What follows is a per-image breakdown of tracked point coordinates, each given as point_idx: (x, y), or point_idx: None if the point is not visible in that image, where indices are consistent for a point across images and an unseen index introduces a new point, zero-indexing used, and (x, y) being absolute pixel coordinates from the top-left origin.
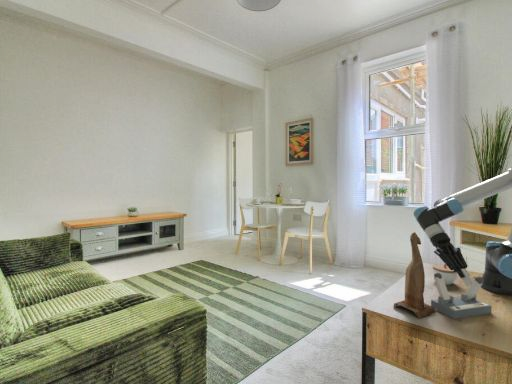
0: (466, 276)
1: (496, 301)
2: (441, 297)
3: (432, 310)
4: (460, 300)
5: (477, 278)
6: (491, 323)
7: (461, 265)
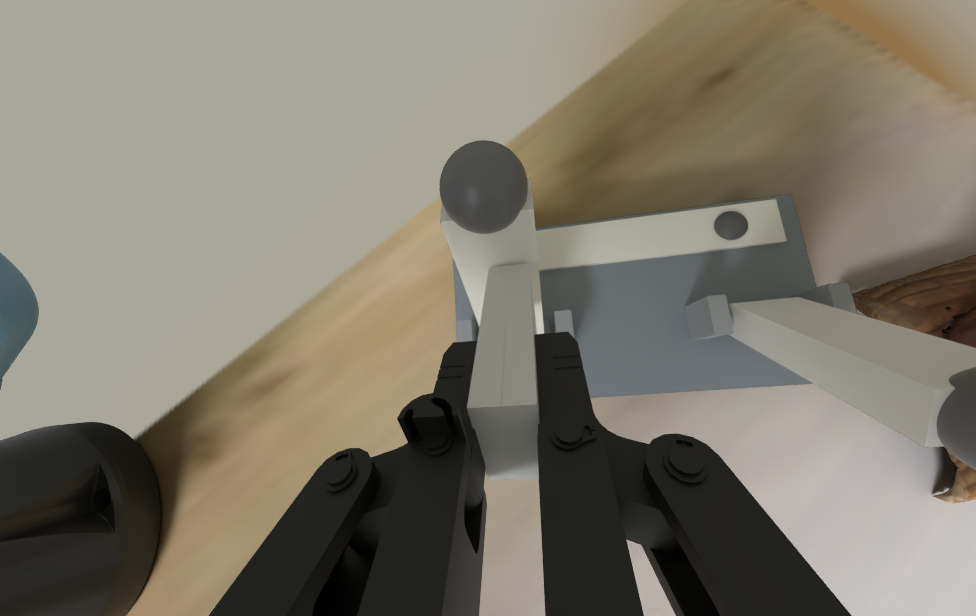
0: (531, 318)
1: (283, 376)
2: (846, 296)
3: (884, 286)
4: (591, 335)
5: (515, 165)
6: (572, 162)
7: (462, 487)
